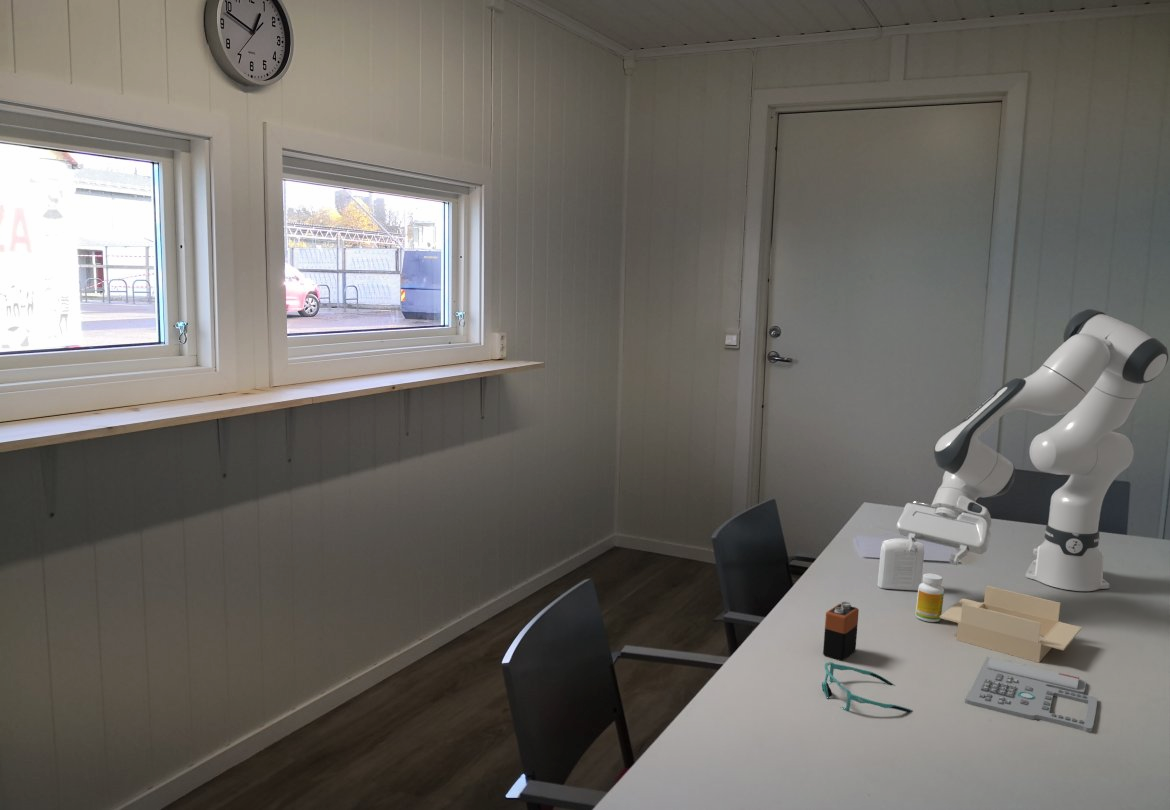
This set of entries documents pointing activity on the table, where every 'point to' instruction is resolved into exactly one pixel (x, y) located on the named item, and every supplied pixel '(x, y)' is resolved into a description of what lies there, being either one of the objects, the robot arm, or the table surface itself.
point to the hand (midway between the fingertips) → (931, 558)
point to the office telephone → (1029, 692)
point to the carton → (1011, 624)
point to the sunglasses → (850, 696)
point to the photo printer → (900, 565)
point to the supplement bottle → (930, 598)
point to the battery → (840, 631)
